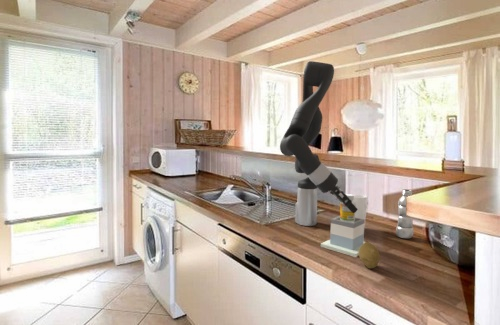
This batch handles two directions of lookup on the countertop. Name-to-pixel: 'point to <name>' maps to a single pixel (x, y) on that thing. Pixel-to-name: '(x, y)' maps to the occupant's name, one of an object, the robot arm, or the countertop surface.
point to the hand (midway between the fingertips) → (352, 209)
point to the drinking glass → (361, 206)
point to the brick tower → (346, 236)
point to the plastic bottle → (404, 217)
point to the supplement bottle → (347, 210)
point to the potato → (369, 255)
